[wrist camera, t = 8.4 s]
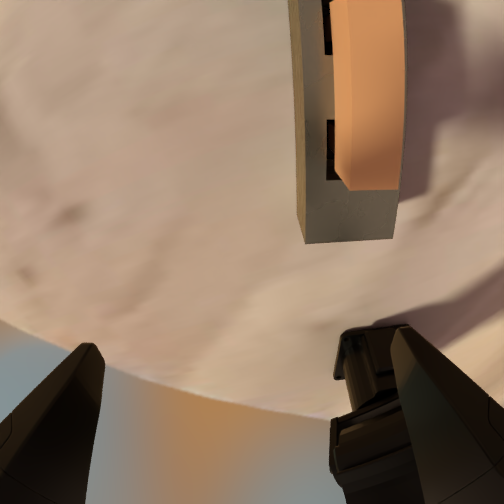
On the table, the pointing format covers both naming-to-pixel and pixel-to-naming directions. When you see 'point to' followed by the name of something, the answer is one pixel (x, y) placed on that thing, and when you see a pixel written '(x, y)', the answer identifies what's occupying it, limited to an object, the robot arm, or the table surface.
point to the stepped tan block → (367, 91)
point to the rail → (315, 143)
